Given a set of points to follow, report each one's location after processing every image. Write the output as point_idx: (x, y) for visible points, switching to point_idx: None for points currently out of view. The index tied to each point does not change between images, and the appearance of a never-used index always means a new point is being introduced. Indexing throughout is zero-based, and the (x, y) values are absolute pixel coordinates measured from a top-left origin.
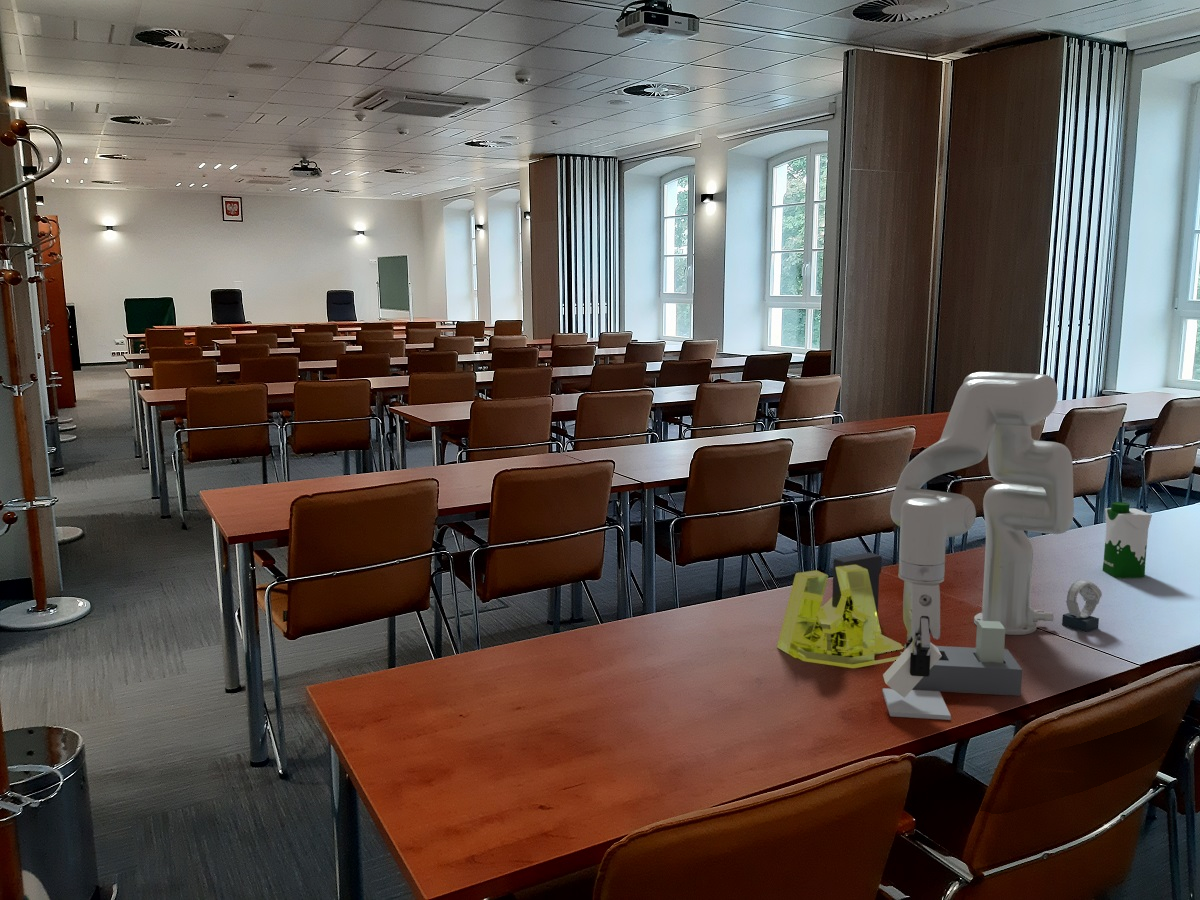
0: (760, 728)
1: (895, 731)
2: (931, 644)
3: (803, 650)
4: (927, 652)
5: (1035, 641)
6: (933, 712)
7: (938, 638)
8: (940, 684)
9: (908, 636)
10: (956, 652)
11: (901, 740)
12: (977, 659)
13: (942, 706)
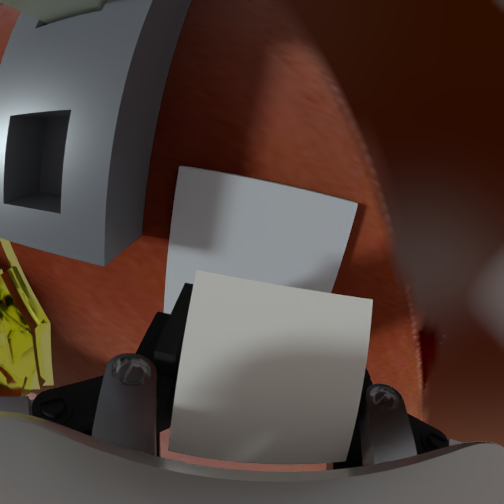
0: (308, 470)
1: (375, 345)
2: (234, 353)
3: (36, 388)
4: (413, 417)
5: None
6: (332, 245)
7: (498, 446)
8: (142, 152)
9: (160, 453)
10: (23, 76)
11: (408, 341)
12: (69, 16)
13: (296, 201)
